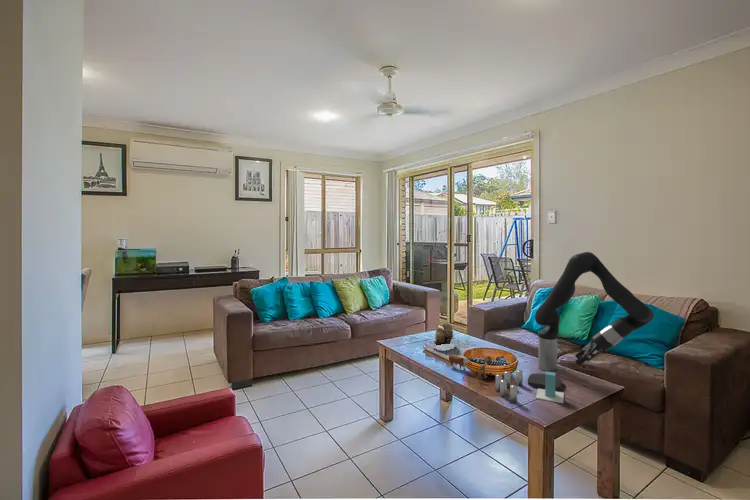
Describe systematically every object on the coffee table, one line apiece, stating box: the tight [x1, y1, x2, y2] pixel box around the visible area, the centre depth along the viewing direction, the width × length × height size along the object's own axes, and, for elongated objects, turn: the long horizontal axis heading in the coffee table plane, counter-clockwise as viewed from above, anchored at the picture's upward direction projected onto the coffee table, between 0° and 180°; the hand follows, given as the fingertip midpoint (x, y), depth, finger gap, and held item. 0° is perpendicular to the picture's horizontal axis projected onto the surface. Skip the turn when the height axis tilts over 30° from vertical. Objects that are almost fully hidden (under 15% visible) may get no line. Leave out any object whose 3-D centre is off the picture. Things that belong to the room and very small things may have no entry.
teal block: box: [544, 371, 556, 398], centre depth 169 cm, size 4×4×10 cm
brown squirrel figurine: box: [433, 321, 454, 345], centre depth 243 cm, size 18×12×17 cm, turn 136°
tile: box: [535, 388, 565, 404], centre depth 170 cm, size 11×11×1 cm
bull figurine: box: [448, 354, 470, 371], centre depth 204 cm, size 4×13×8 cm, turn 38°
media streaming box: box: [527, 373, 563, 392], centre depth 183 cm, size 15×15×3 cm
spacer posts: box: [495, 369, 524, 404], centre depth 175 cm, size 23×11×7 cm, turn 152°
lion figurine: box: [477, 355, 493, 380], centre depth 195 cm, size 15×5×9 cm, turn 150°
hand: (576, 360), depth 164 cm, fingers open, 8 cm apart
